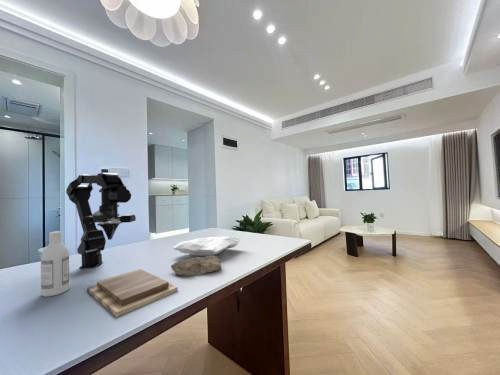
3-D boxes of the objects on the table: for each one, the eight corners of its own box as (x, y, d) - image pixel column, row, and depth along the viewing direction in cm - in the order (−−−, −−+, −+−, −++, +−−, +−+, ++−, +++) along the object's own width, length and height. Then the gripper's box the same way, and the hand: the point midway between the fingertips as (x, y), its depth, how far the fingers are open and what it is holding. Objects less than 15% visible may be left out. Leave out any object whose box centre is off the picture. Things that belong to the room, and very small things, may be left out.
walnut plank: (97, 281, 71) (121, 299, 58) (140, 268, 82) (168, 281, 69) (97, 286, 71) (121, 305, 58) (140, 273, 82) (168, 286, 69)
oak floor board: (87, 290, 71) (87, 287, 71) (141, 273, 85) (141, 270, 85) (116, 317, 55) (116, 312, 55) (177, 290, 70) (177, 286, 70)
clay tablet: (170, 280, 78) (224, 271, 85) (170, 267, 78) (223, 259, 85) (171, 269, 91) (217, 262, 98) (170, 257, 92) (216, 251, 98)
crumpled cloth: (249, 253, 104) (248, 235, 105) (173, 263, 91) (173, 241, 93) (235, 249, 125) (234, 233, 127) (172, 256, 113) (172, 239, 115)
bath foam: (67, 285, 75) (66, 229, 76) (71, 291, 71) (71, 231, 71) (39, 293, 70) (39, 232, 70) (42, 299, 66) (42, 234, 66)
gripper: (71, 204, 81) (72, 245, 80) (124, 203, 83) (124, 243, 83) (90, 202, 92) (90, 239, 91) (135, 201, 94) (136, 236, 94)
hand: (110, 239), depth 89 cm, fingers closed
